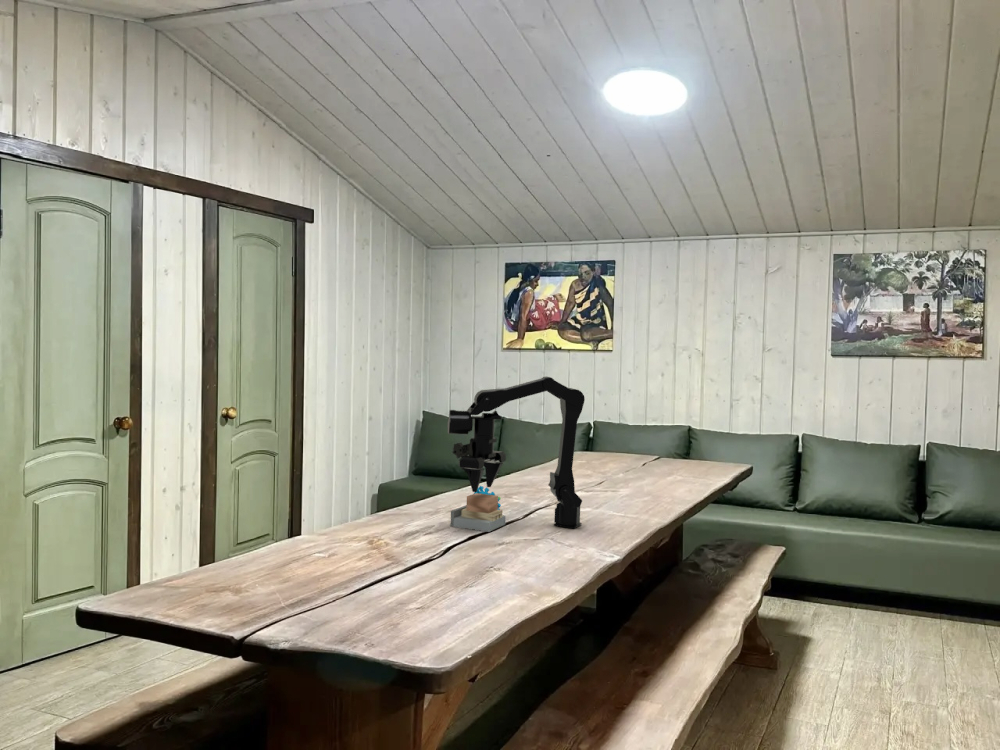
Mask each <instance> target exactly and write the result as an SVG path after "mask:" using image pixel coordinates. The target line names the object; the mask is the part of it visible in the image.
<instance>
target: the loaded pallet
mask: <svg viewBox="0 0 1000 750" xmlns="http://www.w3.org/2000/svg"><path fill="white" fill-rule="evenodd" d="M498 497H499V495H496V494H495V495H488V494H479V493H475V494H474V493H472V494H470V495H468V496H466V504H465V505H466V508H465V509H463V510H462V513H461V517H466V518H473V519H480V520H488V521H495V520H497V519H499V518H502V515H503V509H502V510H501V509H500V510H498V503H499V502H498Z"/></svg>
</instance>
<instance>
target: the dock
mask: <svg viewBox="0 0 1000 750" xmlns="http://www.w3.org/2000/svg"><path fill="white" fill-rule="evenodd" d="M466 505H467V504H465V505H463V506H460V507H458V508H455V509H452V510H450V525H449V526H450V527H451V526H452V527H451V528H458V527H459V528H460V529H465V528H469V529H468V530H472V529H475V530H474V531H479V530H481V532H486V533H487V532H488V533H490V532H491V531H494V530H496V529H498V528H501V527H503V526H505V525H506V517H507V516H506V515H505V514H504V515H503V514H502V518H499V519H497V520H495V521H488V520H480V519H473V518H466V517H461V513H462V510H463V509H465V508H466ZM459 528H458V529H459Z"/></svg>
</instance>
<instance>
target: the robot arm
mask: <svg viewBox="0 0 1000 750" xmlns="http://www.w3.org/2000/svg"><path fill="white" fill-rule="evenodd" d="M544 392H548V393H550V394H551V395H552V396H554V397H555V398H557V399H559V406H560V414H561V418H562V420H561V429H560V430H561V431H560V439H559V448H558V459H557V466H556V469H555V471H554V472H552V471H550V472H549V481H548V482H549V483H548V487H550V492H551V494H552V495H553V496H554V497H556V500H557V502H558V503H556V508H554V517H553V518H554V520H553V521H554V523H553V526H555V527H558V528H559V527H562V528H568V529H576V528H578V527H580V526H582V524H583V523H582V522H581V506H582V504H583V503H582V502H583V500H582V498H581V497H580V496H579V495H578V494H577V493H576V492H575V491H576V490H575V489H576V487H575V478H574V473H573V463H574V455H575V445H576V436H577V435H576V434H577V426H578V420H579V418H580V415H581V414H582V411H583V408H584V404H585V399H586V398H585V395H584V393H583V392H582V391H581V390H580V389H577V388H572V387H567V386H566V385H564V384H563V383H560V382H558V381H557V380H555V379H554V378H553V377H550V376H542V377H540V378H538V379H534V380H531V381H526V382H523V383H519V384H516V385H512V386H509V387H505V388H495V389H494V388H493V389H482V390H479V391H478V392H476V393H475V395H474V398H473V402H472V404H470V406H469V407H468V409H467V410H456V409H449V412H448V413H449V414H448V420H447V434H448V435H469V433H470V432H472V431H473V437H470V439H469V443H467V444H463V443H462V442H458V443H454V444H453V448H452V454H453V455H454V456H455V457H456V459H458V468H461V470H463V471H464V472H465V473H466V474H467V476H468V477H467V478H468V479H469V484H470V487H471V488H470V489H471V491H472V492H473V493H474V492H477V489H478V488H479V487H480V483H481V481H482V477H483V474H484V472H485V481H486V487H487V488H491V487H492V486H493V484H494V481H495V479H496V478H497V476H498V473H499V471H500V470H501V468H502V466H504V462H506V459H507V458H506V456H507V454H506V453H505V452H504V451H500V450H494V444H495V443H496V442H497V437H495V420H498V421H499V420H502V416H501V415H500V414H499V412H498V411H497V410H496V409H498V408H500V407H502V406H503V405H505V404H507V403H509V402H512V401H515V400H519V399H522V398H527V397H529V396H534V395H537V394H541V393H544ZM493 410H494V411H493ZM492 411H493V412H492ZM480 414H481V415H480ZM473 420H474V422H473ZM484 470H485V471H484Z"/></svg>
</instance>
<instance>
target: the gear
mask: <svg viewBox="0 0 1000 750" xmlns="http://www.w3.org/2000/svg"><path fill="white" fill-rule="evenodd" d="M489 491H490V489H489V487H487V486H486V487H485V488H484V486H482V485H479V487H478V489H477V492H473V494H475V493H479V494H488V495H496V494H495V491H491V492H490V493H489ZM501 499H502V498H501V497H500V496H498V510H501V509H500V508H501V503H500V500H501Z"/></svg>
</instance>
